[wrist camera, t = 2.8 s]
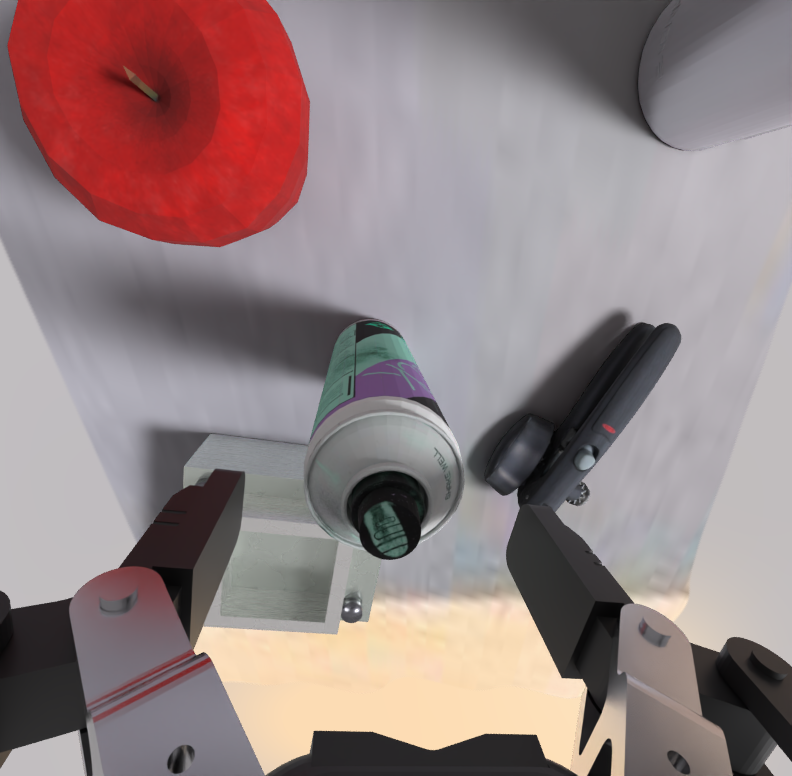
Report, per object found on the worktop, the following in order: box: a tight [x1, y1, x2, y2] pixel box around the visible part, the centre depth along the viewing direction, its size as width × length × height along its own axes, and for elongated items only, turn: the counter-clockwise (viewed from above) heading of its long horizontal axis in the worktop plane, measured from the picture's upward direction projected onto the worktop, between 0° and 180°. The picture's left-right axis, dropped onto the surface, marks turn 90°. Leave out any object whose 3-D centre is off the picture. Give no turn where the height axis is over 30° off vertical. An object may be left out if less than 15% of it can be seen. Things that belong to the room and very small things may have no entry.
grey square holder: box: [183, 433, 381, 634], centre depth 30 cm, size 14×12×8 cm
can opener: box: [484, 323, 681, 512], centre depth 30 cm, size 18×7×6 cm, turn 142°
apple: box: [7, 0, 310, 247], centre depth 18 cm, size 11×10×14 cm
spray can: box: [303, 319, 464, 560], centre depth 20 cm, size 6×6×20 cm
